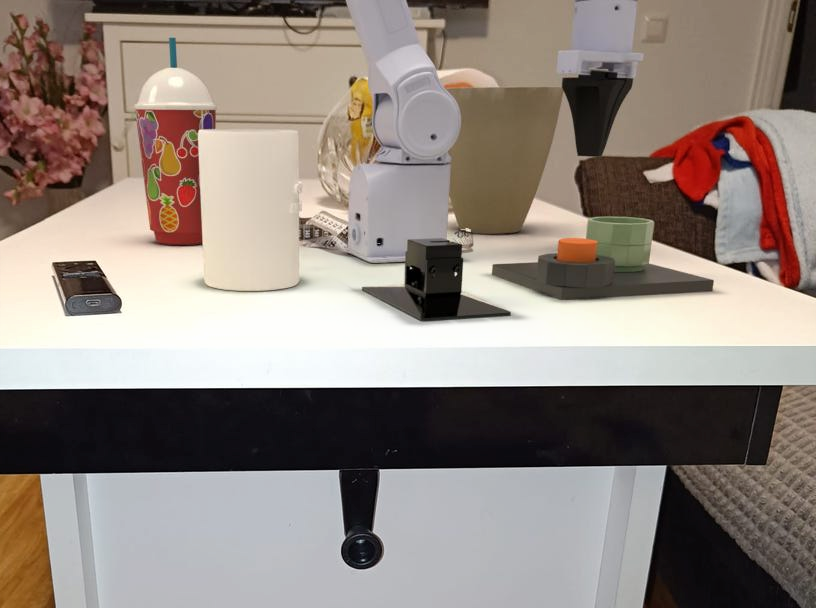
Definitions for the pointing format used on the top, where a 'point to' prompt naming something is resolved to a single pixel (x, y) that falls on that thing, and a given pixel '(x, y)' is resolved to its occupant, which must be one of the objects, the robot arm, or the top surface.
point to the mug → (250, 208)
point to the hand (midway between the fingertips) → (589, 156)
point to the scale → (597, 279)
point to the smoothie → (173, 150)
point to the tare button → (577, 250)
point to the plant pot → (500, 154)
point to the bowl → (622, 240)
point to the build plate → (434, 285)
